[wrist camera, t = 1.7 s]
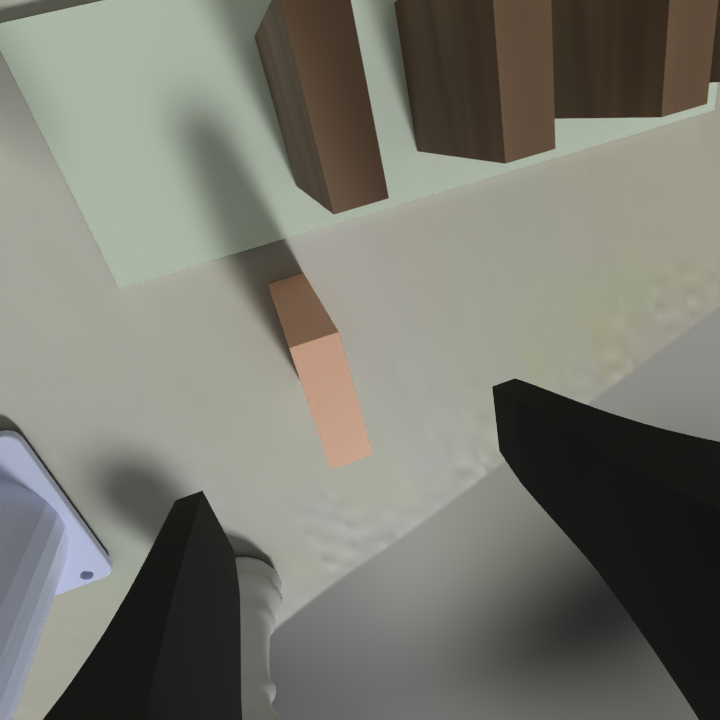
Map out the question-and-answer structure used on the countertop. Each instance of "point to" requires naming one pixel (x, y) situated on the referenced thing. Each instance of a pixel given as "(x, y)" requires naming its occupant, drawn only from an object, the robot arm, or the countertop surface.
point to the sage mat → (216, 127)
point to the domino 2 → (479, 76)
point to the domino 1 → (322, 101)
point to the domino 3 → (631, 57)
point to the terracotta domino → (321, 370)
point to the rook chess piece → (257, 635)
